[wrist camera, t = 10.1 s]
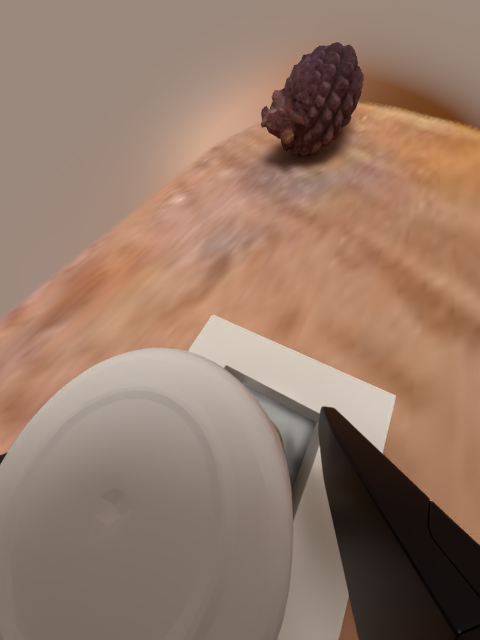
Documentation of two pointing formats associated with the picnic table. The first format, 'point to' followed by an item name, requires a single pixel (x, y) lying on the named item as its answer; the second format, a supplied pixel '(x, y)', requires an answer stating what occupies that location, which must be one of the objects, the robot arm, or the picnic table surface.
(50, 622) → the sprinkles bottle
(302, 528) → the socket block
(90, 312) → the picnic table surface
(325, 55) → the pine cone
